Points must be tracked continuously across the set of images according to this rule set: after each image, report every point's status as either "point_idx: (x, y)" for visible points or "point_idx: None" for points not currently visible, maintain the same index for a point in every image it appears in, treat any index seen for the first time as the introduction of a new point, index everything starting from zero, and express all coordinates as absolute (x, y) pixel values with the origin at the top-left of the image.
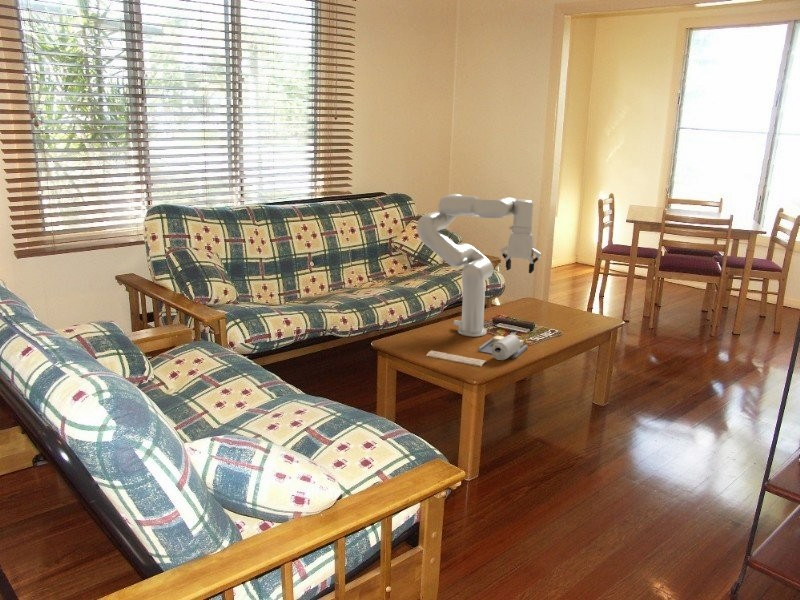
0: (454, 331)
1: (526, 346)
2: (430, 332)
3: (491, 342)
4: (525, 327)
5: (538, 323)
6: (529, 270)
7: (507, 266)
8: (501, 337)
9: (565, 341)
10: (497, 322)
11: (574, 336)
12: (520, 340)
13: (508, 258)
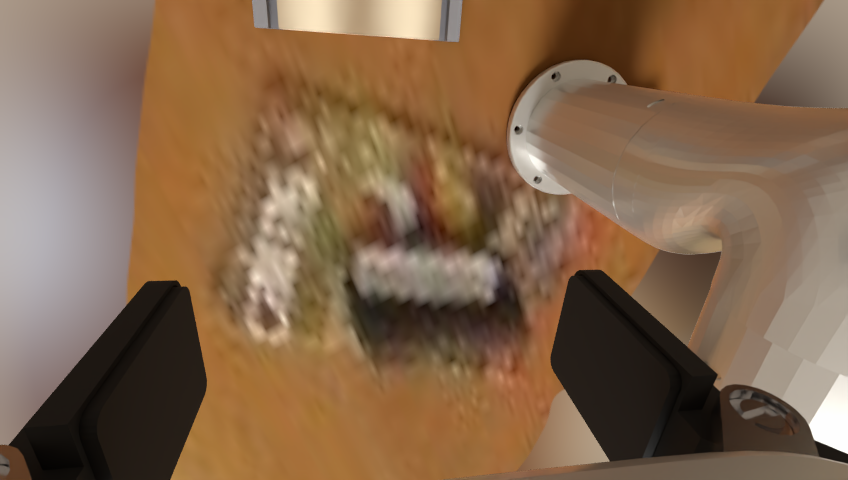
0: None
1: (252, 2)
2: (740, 31)
3: (447, 8)
4: (382, 302)
5: (354, 367)
6: (148, 307)
7: (620, 299)
8: (402, 16)
9: (154, 226)
10: (500, 299)
11: None
12: (292, 17)
13: (737, 440)
